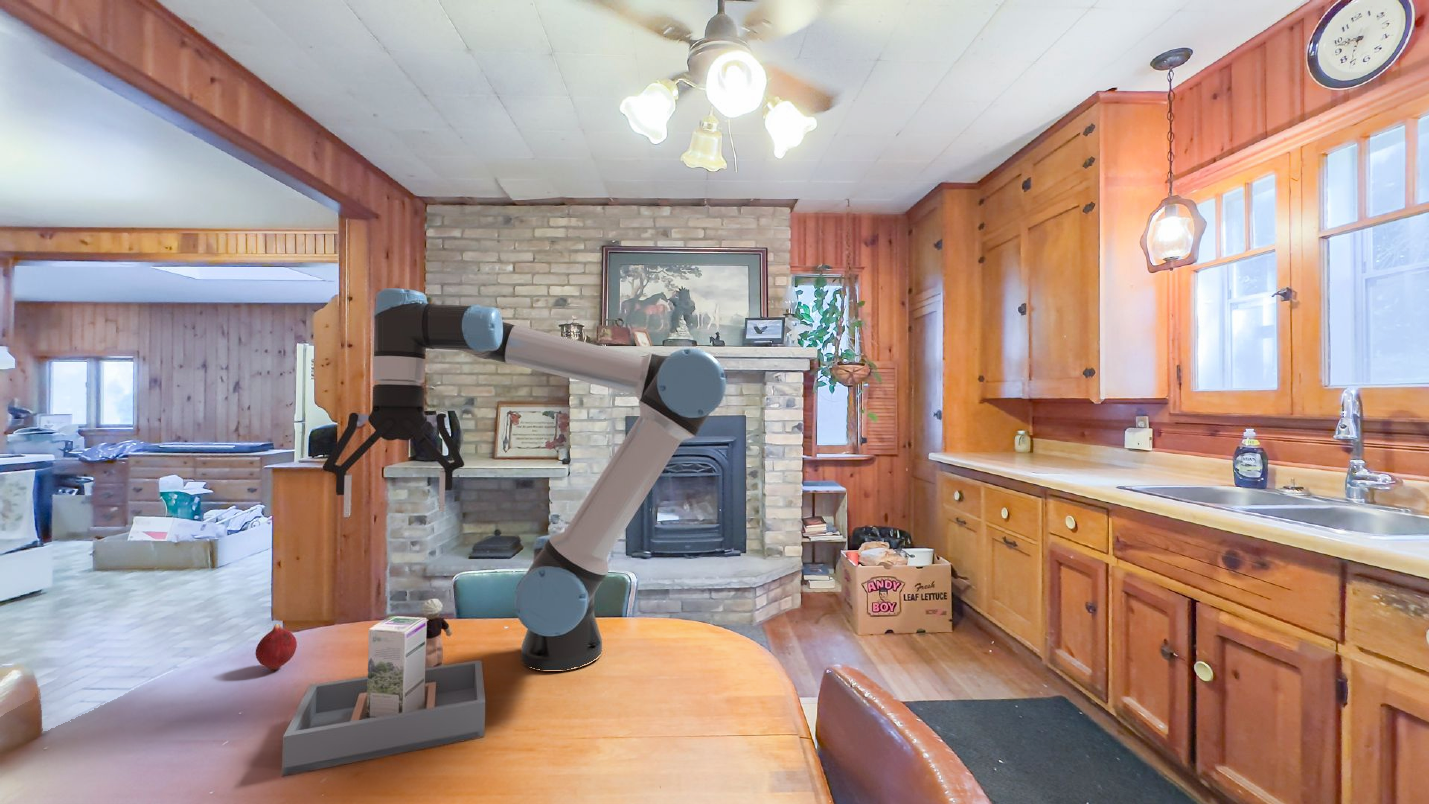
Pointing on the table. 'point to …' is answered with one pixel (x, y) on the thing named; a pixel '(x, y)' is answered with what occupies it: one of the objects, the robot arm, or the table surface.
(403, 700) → the syrup box
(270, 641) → the onion
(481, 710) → the walled box
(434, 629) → the grandmother figurine
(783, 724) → the table surface
